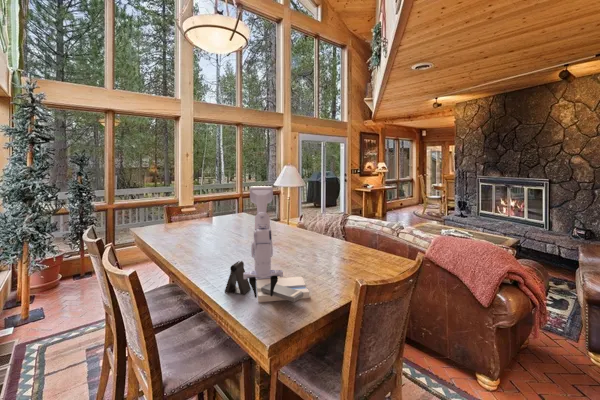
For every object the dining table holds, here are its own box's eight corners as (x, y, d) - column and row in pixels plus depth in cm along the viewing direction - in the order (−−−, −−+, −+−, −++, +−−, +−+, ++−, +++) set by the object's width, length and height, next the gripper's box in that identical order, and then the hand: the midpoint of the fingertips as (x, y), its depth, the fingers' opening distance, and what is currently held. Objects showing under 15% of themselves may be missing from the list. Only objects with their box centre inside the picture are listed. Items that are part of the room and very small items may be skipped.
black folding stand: (250, 289, 123) (250, 261, 121) (244, 295, 117) (243, 266, 116) (231, 286, 125) (231, 259, 124) (224, 292, 120) (223, 264, 118)
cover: (270, 285, 119) (269, 281, 119) (303, 296, 110) (303, 291, 109) (260, 290, 114) (259, 286, 114) (294, 302, 105) (294, 297, 104)
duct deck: (256, 285, 126) (256, 279, 126) (301, 281, 130) (301, 276, 130) (258, 302, 111) (258, 296, 111) (309, 297, 114) (309, 291, 114)
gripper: (243, 265, 102) (243, 302, 104) (283, 263, 105) (284, 299, 106) (243, 259, 109) (244, 293, 110) (281, 257, 111) (281, 291, 113)
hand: (263, 295), depth 109 cm, fingers open, 5 cm apart
